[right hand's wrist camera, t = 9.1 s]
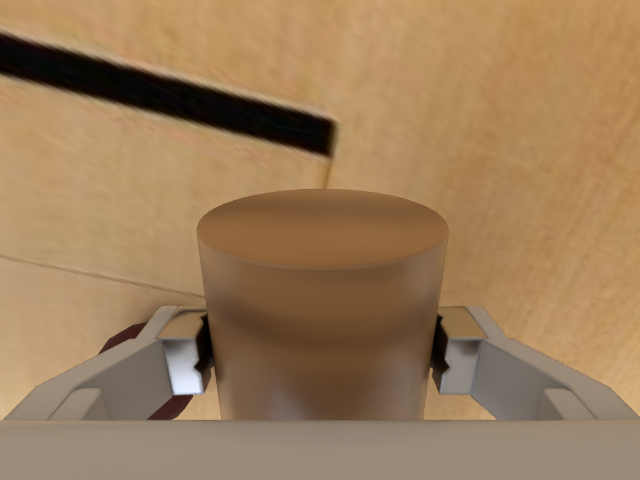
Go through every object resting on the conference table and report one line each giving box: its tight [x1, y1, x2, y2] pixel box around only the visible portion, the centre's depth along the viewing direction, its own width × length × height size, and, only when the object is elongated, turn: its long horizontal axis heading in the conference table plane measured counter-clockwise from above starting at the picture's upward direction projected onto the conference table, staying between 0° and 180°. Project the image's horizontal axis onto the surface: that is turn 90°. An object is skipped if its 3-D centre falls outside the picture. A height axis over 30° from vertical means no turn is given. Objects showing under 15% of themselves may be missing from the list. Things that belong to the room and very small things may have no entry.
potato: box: [98, 322, 193, 420], centre depth 26 cm, size 7×8×7 cm
